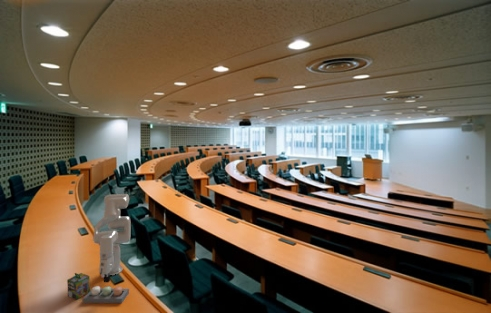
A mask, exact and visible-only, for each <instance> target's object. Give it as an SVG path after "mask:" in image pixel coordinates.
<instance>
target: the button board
mask: <svg viewBox="0 0 491 313" xmlns="http://www.w3.org/2000/svg"><path fill="white" fill-rule="evenodd" d="M103 288H104V287H103ZM103 288H101V287H100V295H98V296H92V295H91V290H90V292H89V293H87V294H85V295H84V296H83V298H82V303H83V304H122V303H123V302H125V299H126V298H127V296H128V295H129V293H130V288H122V295H121V296H119V297H114V288H111V295H109V296H107V297H106V296H103Z"/></svg>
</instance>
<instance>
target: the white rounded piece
mask: <svg viewBox="0 0 491 313" xmlns="http://www.w3.org/2000/svg"><path fill="white" fill-rule="evenodd" d="M100 288H101V286H99V285H96V286H94V287H92V288H90V291H91V295H92V296H99V295H100Z"/></svg>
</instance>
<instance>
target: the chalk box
mask: <svg viewBox="0 0 491 313" xmlns="http://www.w3.org/2000/svg"><path fill="white" fill-rule="evenodd" d="M90 286H91V284H90V275H88V274H85V273H82V272H80V273H77V272H74V276H72V277H70V278H68V279H67V296H68V297H69V298H72V299H73V300H76V301H78V299H81V297H85V296H86V295H87V294H88V293H89V292H90V291H91V287H90Z"/></svg>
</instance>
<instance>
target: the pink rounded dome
mask: <svg viewBox="0 0 491 313" xmlns="http://www.w3.org/2000/svg"><path fill="white" fill-rule="evenodd" d="M113 289H114V297H120V296H121V295H122V289H123V287H122V286H119V285H118V286H116V287H114V288H113Z"/></svg>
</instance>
